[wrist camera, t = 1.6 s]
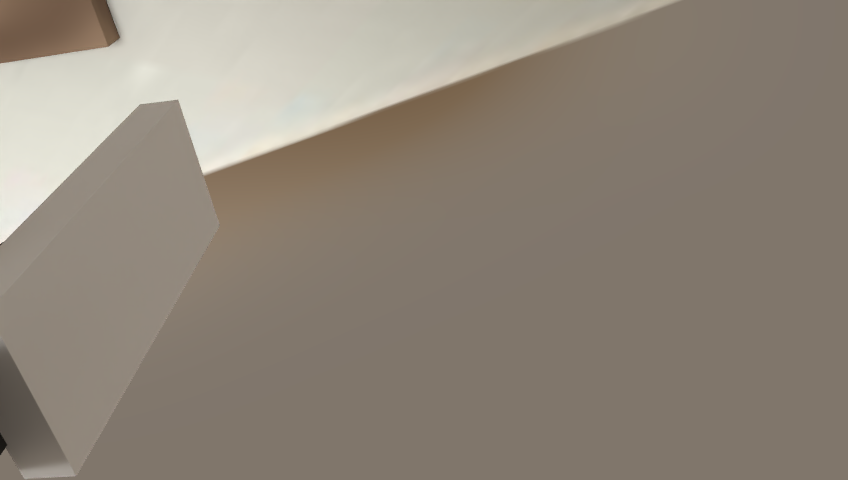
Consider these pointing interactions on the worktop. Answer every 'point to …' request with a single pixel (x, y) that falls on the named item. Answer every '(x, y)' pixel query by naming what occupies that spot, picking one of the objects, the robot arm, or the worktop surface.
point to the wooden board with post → (53, 27)
